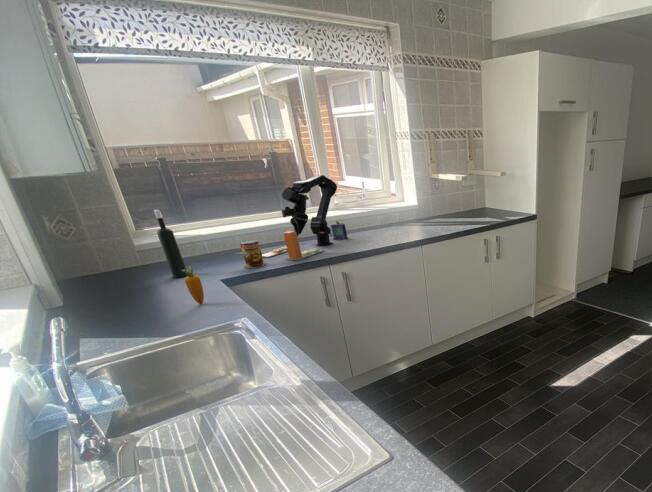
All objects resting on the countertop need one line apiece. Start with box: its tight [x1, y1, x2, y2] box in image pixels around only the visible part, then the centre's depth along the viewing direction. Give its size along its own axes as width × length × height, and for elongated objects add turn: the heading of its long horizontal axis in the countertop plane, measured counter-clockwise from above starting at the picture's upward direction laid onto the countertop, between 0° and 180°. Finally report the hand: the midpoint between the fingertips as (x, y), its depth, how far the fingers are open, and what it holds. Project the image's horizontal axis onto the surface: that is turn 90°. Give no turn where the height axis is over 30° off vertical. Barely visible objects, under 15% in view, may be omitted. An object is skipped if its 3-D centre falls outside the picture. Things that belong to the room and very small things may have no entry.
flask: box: [329, 220, 348, 240], centre depth 257 cm, size 9×3×11 cm, turn 84°
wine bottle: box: [153, 209, 188, 279], centre depth 190 cm, size 6×6×30 cm
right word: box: [286, 248, 324, 261], centre depth 225 cm, size 19×7×2 cm, turn 158°
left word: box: [261, 245, 288, 258], centre depth 232 cm, size 19×7×2 cm, turn 158°
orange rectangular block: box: [282, 230, 302, 258], centre depth 217 cm, size 5×4×13 cm
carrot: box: [182, 265, 205, 306], centre depth 158 cm, size 5×5×15 cm
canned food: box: [239, 239, 265, 269], centre depth 207 cm, size 8×8×12 cm
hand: (298, 235), depth 225 cm, fingers open, 9 cm apart
